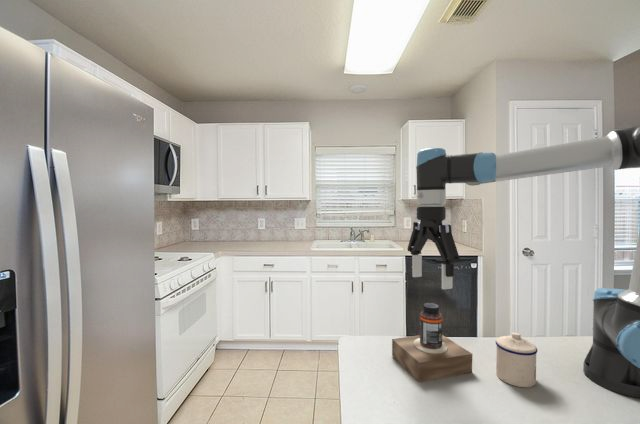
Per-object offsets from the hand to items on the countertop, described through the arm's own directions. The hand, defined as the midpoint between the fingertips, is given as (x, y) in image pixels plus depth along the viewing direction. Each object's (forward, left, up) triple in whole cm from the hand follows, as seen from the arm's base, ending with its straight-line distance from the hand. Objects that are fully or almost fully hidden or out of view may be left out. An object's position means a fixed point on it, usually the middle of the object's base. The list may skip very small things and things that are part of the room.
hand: (430, 282), depth 87 cm
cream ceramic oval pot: (-11, -17, -23) cm, 31 cm away
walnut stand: (0, 0, -23) cm, 23 cm away
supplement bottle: (0, 0, -18) cm, 18 cm away
